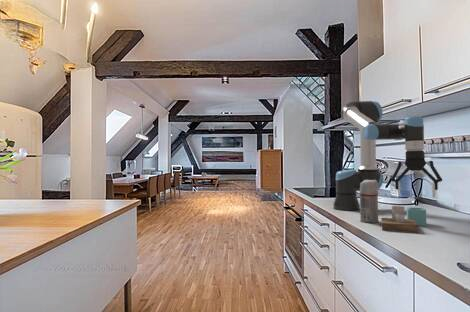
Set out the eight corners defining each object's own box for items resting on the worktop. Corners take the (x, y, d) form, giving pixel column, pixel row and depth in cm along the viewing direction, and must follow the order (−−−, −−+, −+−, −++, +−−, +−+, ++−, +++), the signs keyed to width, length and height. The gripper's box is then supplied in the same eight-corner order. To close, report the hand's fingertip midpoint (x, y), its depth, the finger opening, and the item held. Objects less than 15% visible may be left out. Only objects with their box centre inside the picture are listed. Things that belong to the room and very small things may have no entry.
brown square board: (381, 224, 143) (381, 203, 143) (414, 226, 138) (413, 204, 138) (382, 230, 132) (381, 207, 132) (417, 232, 126) (417, 209, 126)
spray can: (380, 223, 145) (380, 180, 145) (362, 223, 147) (361, 180, 147) (376, 220, 153) (375, 179, 154) (358, 219, 155) (357, 179, 155)
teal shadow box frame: (406, 222, 148) (406, 207, 148) (424, 223, 145) (423, 207, 145) (408, 224, 141) (408, 209, 141) (426, 226, 138) (426, 210, 138)
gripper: (384, 151, 145) (386, 197, 144) (449, 149, 135) (450, 198, 134) (384, 151, 152) (385, 195, 151) (445, 149, 142) (447, 196, 141)
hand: (416, 197), depth 143 cm, fingers open, 13 cm apart
